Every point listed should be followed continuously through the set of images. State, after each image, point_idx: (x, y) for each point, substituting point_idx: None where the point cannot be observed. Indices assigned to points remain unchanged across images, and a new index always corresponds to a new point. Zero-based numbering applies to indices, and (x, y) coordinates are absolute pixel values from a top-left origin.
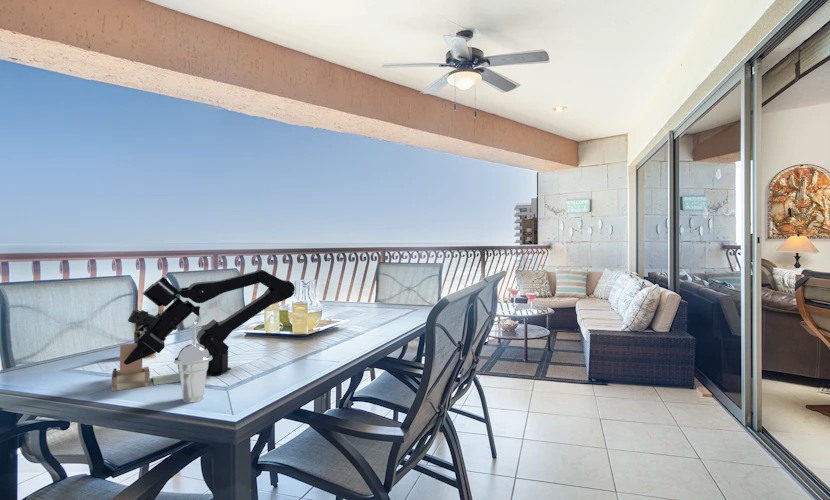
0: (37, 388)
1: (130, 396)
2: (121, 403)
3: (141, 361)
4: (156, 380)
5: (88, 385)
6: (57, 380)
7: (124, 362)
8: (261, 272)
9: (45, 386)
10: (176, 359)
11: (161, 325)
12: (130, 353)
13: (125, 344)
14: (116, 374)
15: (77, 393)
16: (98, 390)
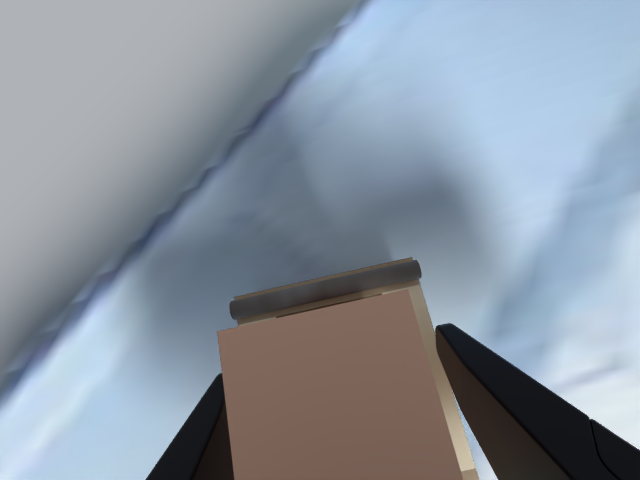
0: (420, 5)
1: (120, 421)
2: (28, 400)
3: None
4: None
5: (404, 170)
6: (533, 24)
7: (217, 381)
8: None
9: (442, 19)
10: None
11: None
12: (176, 475)
13: (407, 374)
14: (307, 305)
15: (284, 166)
16: (297, 238)
